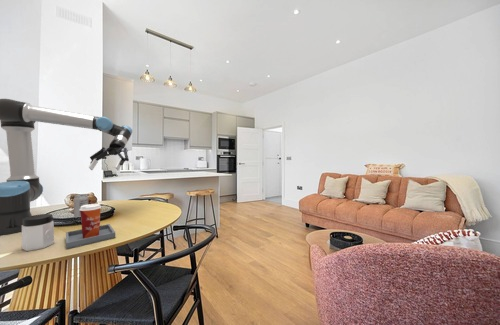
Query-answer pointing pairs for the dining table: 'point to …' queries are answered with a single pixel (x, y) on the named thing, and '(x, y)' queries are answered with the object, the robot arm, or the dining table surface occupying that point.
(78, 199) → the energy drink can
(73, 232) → the tray
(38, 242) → the jar
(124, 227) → the dining table surface
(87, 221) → the paper cup
